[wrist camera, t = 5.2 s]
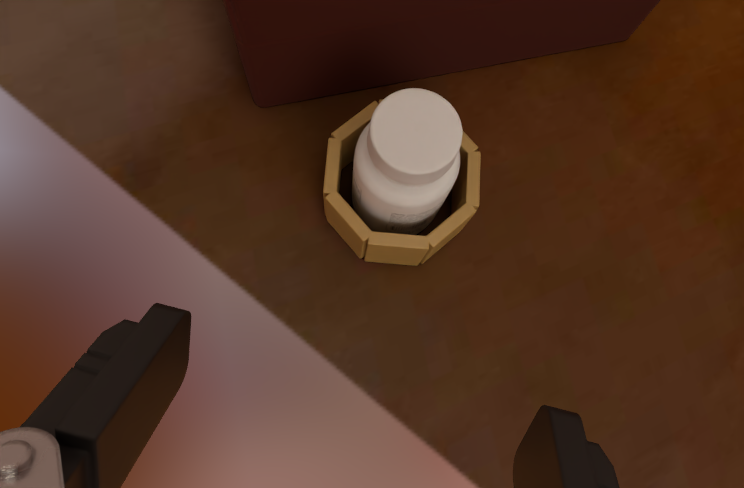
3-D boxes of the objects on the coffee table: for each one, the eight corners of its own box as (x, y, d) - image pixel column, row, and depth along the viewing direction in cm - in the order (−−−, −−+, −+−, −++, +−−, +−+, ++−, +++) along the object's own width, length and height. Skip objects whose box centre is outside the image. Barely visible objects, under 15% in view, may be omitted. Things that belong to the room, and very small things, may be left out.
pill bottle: (456, 190, 28) (499, 120, 20) (404, 257, 27) (430, 210, 19) (386, 139, 28) (403, 53, 21) (333, 204, 27) (331, 137, 20)
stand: (460, 269, 27) (478, 253, 24) (320, 257, 27) (317, 239, 23) (465, 140, 29) (482, 108, 25) (333, 128, 28) (332, 93, 25)
